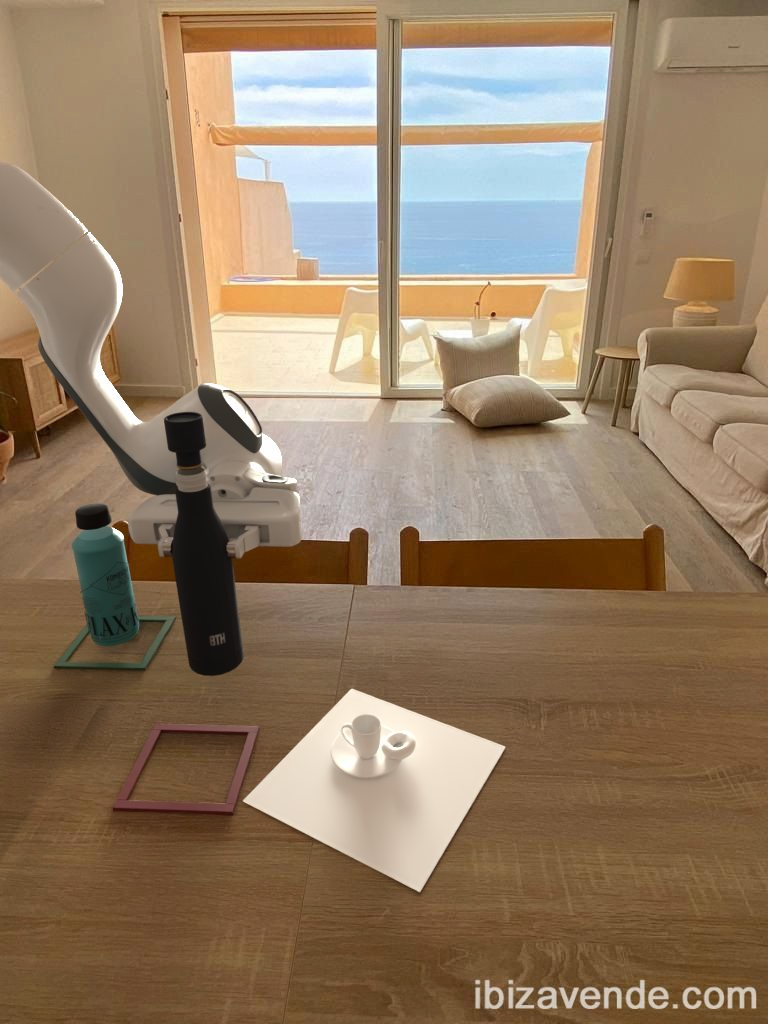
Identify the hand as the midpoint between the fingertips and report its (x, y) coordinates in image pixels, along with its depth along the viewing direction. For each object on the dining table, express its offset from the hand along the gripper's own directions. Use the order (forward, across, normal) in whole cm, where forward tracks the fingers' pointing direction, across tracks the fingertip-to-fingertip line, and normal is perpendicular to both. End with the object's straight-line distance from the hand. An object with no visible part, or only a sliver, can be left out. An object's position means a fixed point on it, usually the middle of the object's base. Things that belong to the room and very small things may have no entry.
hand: (199, 552), depth 76 cm
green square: (-10, -17, +20) cm, 28 cm away
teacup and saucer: (+12, +20, +20) cm, 31 cm away
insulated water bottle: (-1, 0, +15) cm, 15 cm away
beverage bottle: (-10, -17, +20) cm, 28 cm away
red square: (+12, 0, +20) cm, 23 cm away
